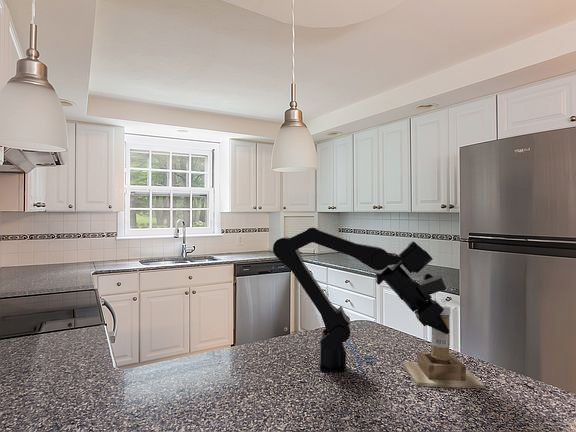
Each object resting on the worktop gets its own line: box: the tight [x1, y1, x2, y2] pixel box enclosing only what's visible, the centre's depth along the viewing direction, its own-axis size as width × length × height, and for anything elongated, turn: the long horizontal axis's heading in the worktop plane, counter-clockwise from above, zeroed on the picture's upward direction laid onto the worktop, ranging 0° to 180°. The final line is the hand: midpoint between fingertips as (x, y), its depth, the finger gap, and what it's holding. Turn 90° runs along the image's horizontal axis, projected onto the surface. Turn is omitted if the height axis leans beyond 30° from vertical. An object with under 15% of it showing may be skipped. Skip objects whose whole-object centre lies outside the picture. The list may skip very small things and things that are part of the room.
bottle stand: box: [402, 351, 485, 389], centre depth 94 cm, size 16×13×4 cm
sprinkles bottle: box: [430, 304, 451, 360], centre depth 95 cm, size 5×5×13 cm
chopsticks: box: [347, 339, 376, 374], centre depth 106 cm, size 1×25×5 cm
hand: (446, 330), depth 94 cm, fingers closed on sprinkles bottle, 4 cm apart
